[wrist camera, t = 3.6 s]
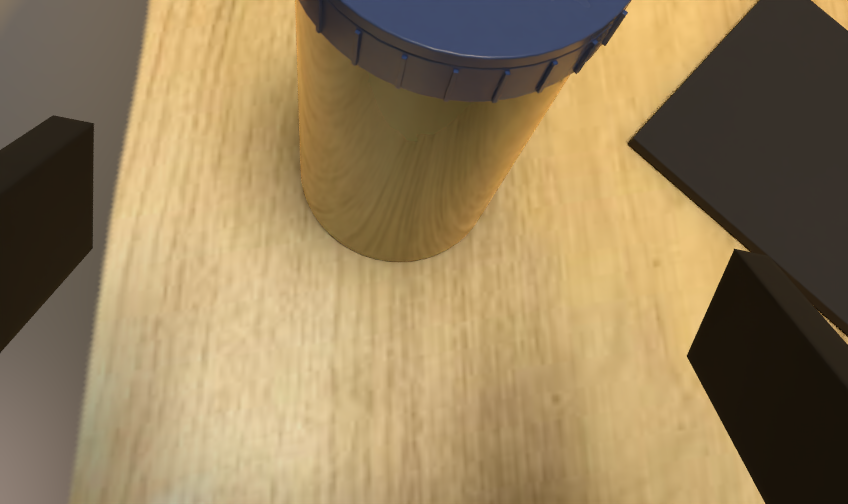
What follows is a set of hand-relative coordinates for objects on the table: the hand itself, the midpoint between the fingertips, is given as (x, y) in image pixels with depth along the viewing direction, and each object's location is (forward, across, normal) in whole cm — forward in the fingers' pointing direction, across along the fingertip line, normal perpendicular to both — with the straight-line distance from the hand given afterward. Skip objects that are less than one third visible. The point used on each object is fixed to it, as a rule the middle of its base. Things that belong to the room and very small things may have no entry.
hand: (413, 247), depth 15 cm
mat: (+18, +18, -1) cm, 25 cm away
